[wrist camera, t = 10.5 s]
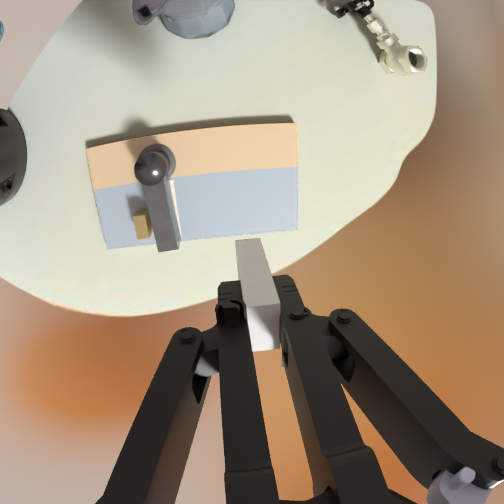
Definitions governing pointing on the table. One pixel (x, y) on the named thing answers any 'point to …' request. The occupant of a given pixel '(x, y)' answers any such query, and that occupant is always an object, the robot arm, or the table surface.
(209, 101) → the table surface
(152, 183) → the latch bar
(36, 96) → the table surface
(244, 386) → the robot arm
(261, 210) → the door panel
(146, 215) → the block
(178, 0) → the moka pot
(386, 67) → the valve
